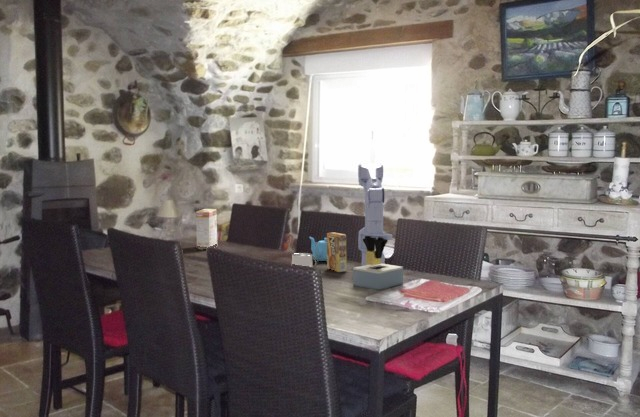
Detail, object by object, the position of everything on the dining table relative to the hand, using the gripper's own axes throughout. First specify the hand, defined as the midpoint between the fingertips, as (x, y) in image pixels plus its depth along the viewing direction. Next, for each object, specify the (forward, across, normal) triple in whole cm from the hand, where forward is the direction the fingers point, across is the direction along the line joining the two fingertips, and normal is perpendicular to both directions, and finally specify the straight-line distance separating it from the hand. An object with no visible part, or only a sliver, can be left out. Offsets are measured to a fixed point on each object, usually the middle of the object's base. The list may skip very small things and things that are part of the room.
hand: (375, 257), depth 226 cm
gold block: (+2, 0, -1) cm, 2 cm away
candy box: (+10, -29, +10) cm, 32 cm away
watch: (+10, -19, -17) cm, 27 cm away
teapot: (+10, -48, +23) cm, 54 cm away
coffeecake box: (+10, -117, +7) cm, 117 cm away
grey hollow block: (+10, +1, 0) cm, 10 cm away
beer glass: (+10, -2, -35) cm, 36 cm away
